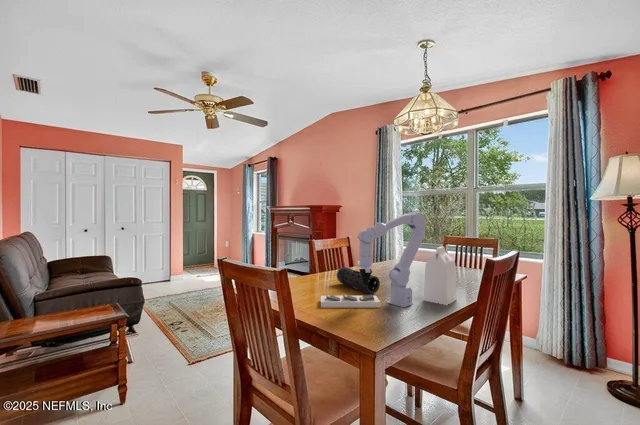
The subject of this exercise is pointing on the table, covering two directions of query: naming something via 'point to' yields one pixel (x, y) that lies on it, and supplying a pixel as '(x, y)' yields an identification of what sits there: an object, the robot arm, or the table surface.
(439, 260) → the milk
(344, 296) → the middle rocker
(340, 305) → the switch strip
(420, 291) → the table surface
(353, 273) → the black foam roller
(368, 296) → the rocker
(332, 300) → the rocker
